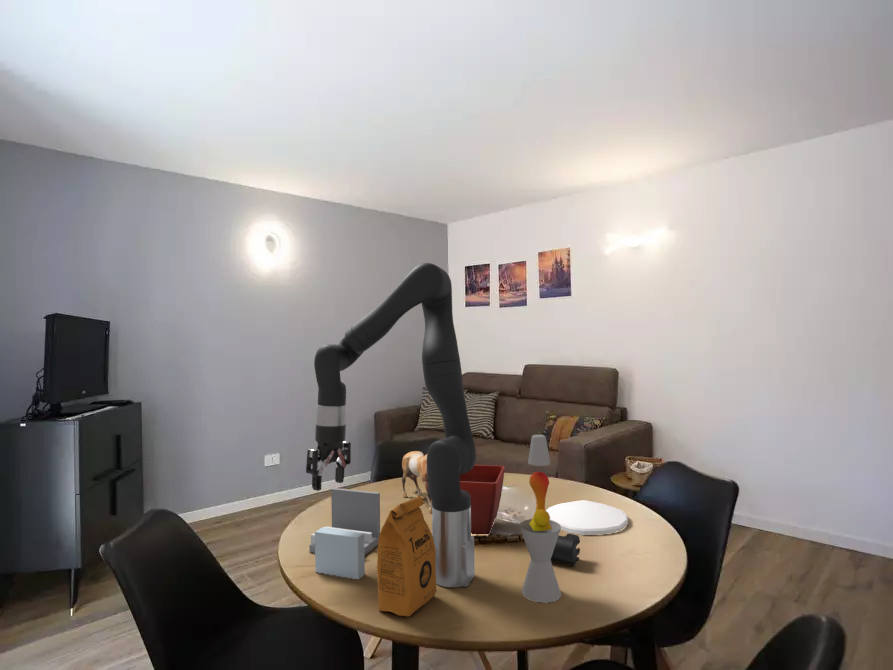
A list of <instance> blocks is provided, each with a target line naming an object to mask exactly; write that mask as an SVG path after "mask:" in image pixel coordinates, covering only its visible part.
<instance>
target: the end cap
mask: <svg viewBox="0 0 893 670" xmlns="http://www.w3.org/2000/svg"><path fill="white" fill-rule="evenodd" d="M580 539H581V538H580V535H576V534H570V533H567V534H565V535H564V536H563V535H559V536H558V539H557V542H556V545H555V548H554V551H553V554H552V557H551V562H555V563H559V564H564V565H568V566H572V567H575V566H576V565H575V564H578V563H579V561H580V557H579V555H580V553H581V549H580V547H577V546H578V545H579V544H580V543H581V540H580Z"/></svg>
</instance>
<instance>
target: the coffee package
mask: <svg viewBox="0 0 893 670" xmlns="http://www.w3.org/2000/svg"><path fill="white" fill-rule="evenodd" d="M424 503H425V502H424V500H423V497H422V496H421V497H417V496H416V497H415V498H412V499H409V500H408V501H404V502H401V503H400V504H398V505H396V506H395V507H393V508H391V510H390V511H389V513H388V516H387V517H386V519H385V521H384V524H383V526H382V527H381V529H380V535H379V542H378V545H377V562H376V563H377V565H376V568H377V569H376V570H377V571H376V573H377V595H378V596H377V602H378V605H377V606H378V610H379V611H381V612H389V613H390V612H391V613H393V614H395V615H397V616H399V617H410V616H411V615H413V613H415V612H416V611H417V610H419V609H420V608H421V607H422V606H424V605H426V604H427V603H429V601H430V600H431V599H432V598H433V597H435V595H436V593H437V584H436V570H435V562H436V549H435V544H434V539H433V537H432V531H431V529H430V528H429V525H428V524H427V522H426V521H425V517H424V514H423V510H422V509H421V508H420V507H422V506H423V505H424Z"/></svg>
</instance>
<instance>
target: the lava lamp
mask: <svg viewBox="0 0 893 670" xmlns="http://www.w3.org/2000/svg"><path fill="white" fill-rule="evenodd" d="M548 448H549V447H548V441H547V437H546V435H544V434H533V435H532V436H531V440H530V447H529V453H528V459H527V460H528V461H527V463H528V464H529V465H530V466H535V467H546V466H549V465H551V460H550V454H549V449H548ZM549 484H550V479H549V477H548V476H547V474H546V473H545V472H542V471H534V472H533V473H532V474H531V475H530V477H529V487H530V488H531V489H532V491H533V493H534V496H535V499H536V500H535V501H536V503H535V506H536V507H535V512H534V513H533V517H532V518H529V519H525V520H523V521H522V522H520V523H519V528H520V531H521V535H522V537H523V539H524V542H525V546H526V548H527V551H528V554H529V556H530V557H529V558H530V560H529V564H528V568H527V571H526V575H525V578H524V581H523V585H522V588H521V594H523V595H524V596H523V595H522V596H523V598H525V597H526V598H525V599H527V600H528V599H530V600H529V601H531V600H532V601H531V602H533V601H536V602H535V603H538V602H542V603H541V604H548V603H547V602H550V603H554V602H557V601H558V600H559V598H560V599H561V597H562V592H561V589H560V587H559V583H558V580H557V576H556V574H555V570H554V567H553V564H552V561H551V557H552V554H553V551H554V548H555V545H556V542H557V539H558V536H560V532H561V531H562V530H561V526H560V524H558V523H557V522H555V521H552V520H550V515H549V513H548V512H547V511H546V510H547V509H546V496H547V492H548V488H549ZM556 600H557V601H556ZM553 601H554V602H553Z"/></svg>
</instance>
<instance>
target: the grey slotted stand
mask: <svg viewBox="0 0 893 670" xmlns="http://www.w3.org/2000/svg"><path fill="white" fill-rule="evenodd" d="M330 491H331V492H330V493H331V498H330V500H331V503H330V504H331V526H327V525H326V526H323V527H322V528H328V529H336V530H343V531H351V532H358V533H364V556H366V555H367V554H368V553H369V552H371V551H372V550H373V549H374V548H376V547H378V542H379V535H380V532H381V497H380V496H381V495H380V494H381V493H380V492H377V491H376V492H375V491H370V490H369V491H366V490H356V489H349V488H347V489H346V488H338V487H337V488H336V487H333V488H331V490H330ZM308 546H309V551H308V552H309V553H310V552H313V553H312V554H315V533H311V534H310V544H309V545H308Z"/></svg>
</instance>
